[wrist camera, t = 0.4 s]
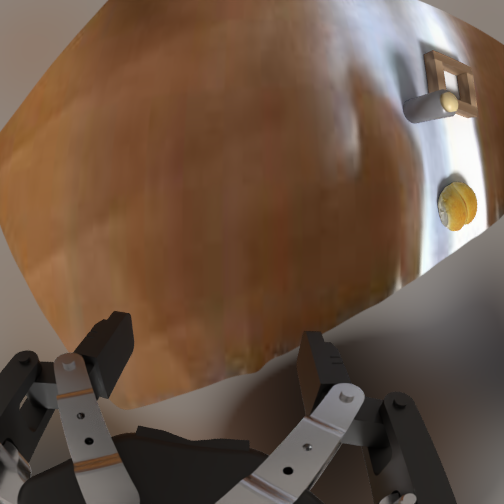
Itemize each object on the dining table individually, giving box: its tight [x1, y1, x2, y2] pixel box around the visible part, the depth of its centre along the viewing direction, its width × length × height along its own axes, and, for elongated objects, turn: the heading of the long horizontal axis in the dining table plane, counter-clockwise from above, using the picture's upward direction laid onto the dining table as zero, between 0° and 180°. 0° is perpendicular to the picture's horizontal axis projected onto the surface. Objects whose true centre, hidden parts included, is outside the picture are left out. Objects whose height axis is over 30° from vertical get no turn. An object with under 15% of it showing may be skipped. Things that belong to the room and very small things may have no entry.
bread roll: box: [438, 182, 477, 231], centre depth 40 cm, size 8×9×4 cm
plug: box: [403, 89, 458, 123], centre depth 33 cm, size 4×4×10 cm
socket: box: [424, 50, 478, 118], centre depth 35 cm, size 10×10×3 cm
